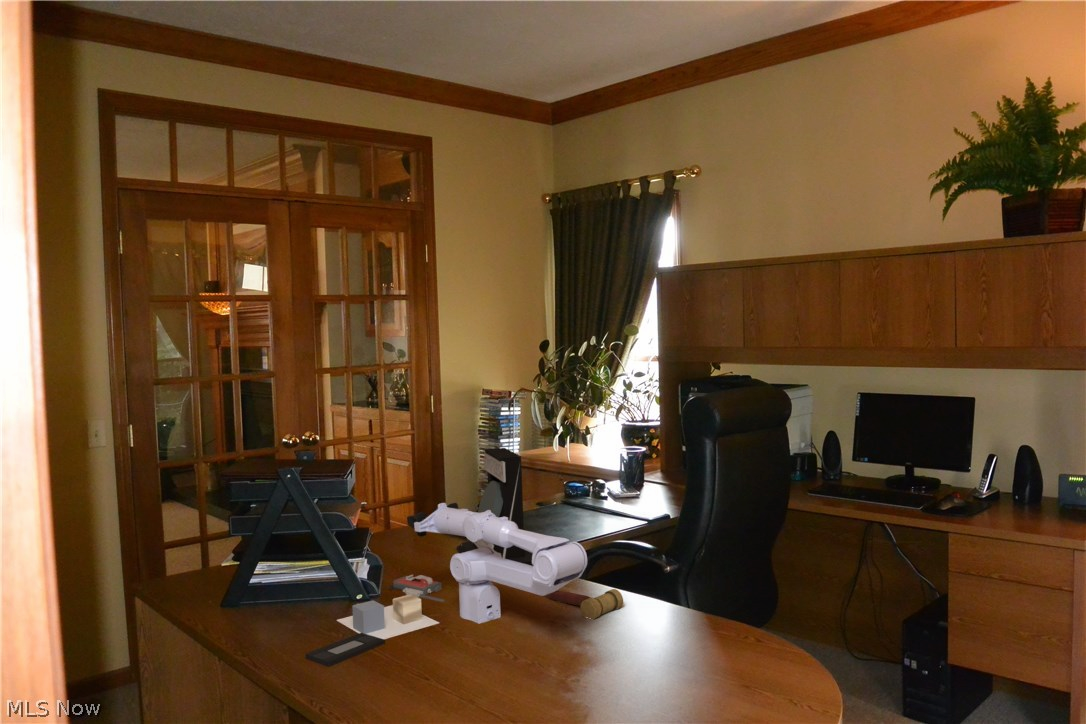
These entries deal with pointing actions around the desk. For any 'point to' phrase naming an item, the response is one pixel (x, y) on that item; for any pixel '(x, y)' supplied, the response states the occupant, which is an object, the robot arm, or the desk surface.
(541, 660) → the desk surface
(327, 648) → the vhs tape
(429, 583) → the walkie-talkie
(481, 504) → the award
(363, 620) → the slate block
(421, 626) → the blank cream board
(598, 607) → the gavel
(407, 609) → the maple cube
